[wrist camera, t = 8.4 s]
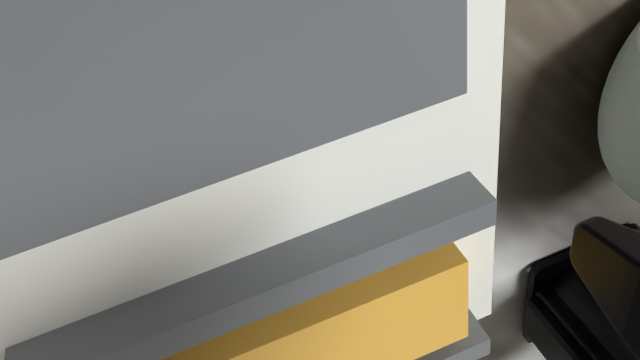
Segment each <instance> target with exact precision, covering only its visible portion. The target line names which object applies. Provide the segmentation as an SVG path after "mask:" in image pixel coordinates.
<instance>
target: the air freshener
mask: <svg viewBox="0 0 640 360" xmlns="http://www.w3.org/2000/svg"><path fill="white" fill-rule="evenodd" d="M598 140H599V146H600V151H601V156H602V159H603V161H604V163H605V165H606V167H607V169H608V171H609V173H610V175H611V177H612V178H613V180H614V181H615V182H616V183H617V184H618V185H619V186H620V187H621V188H622V190H623V191H624V192H625V193H626V194H628V195H629V196H630V197H631V198H633V199H635V200H636V201H638V202H640V21H639V23H638V24H637V25H636V27H635V28H634V30H633V31H632V32H631V34H630V35H629V36H628V38H627V40H626V41H625V43H624V45H623V46H622V48H621V49H620V51H619V53H618V55H617V57H616V59H615V61H614V63H613V65H612V67H611V69H610V71H609V74H608V77H607V80H606V83H605V86H604V89H603V92H602V96H601V101H600V106H599V112H598Z"/></svg>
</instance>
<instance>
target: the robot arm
mask: <svg viewBox="0 0 640 360" xmlns="http://www.w3.org/2000/svg"><path fill="white" fill-rule="evenodd" d="M523 337H524V338H525V340H526V341H527V342H529V343H530V342H533V343H534V344H535V346H536V347H537V348H538V349H539V351H540V352H541V353H542V355H543V356H544V357H545V358H546V360H640V227H639V226H638V225H637V224H634V223H633V224H630V225H627V226H624V225H621V224H619V223H616V222H613V221H611V220H608V219H606V218H603V217H592V218H589V219H587V220H584V221H582V222H579V223H577V224H576V226H575V228H574V232H573V238H572V244H571V249H570V250H568V251H565V252H563V253H561V254H558V255H556V256H553V257H551V258H549V259H546V260H544V261H541V262H539V263H537V264H535V265H534V266H533V267H532V268H531V270H530V272H529V280H528V289H527V298H526V307H525V316H524V326H523Z"/></svg>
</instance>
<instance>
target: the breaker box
mask: <svg viewBox="0 0 640 360" xmlns="http://www.w3.org/2000/svg"><path fill="white" fill-rule="evenodd" d="M504 22H505V0H0V360H160V359H163V358H165V357H168V356H170V355H173V354H175V353H178V352H180V351H183V350H185V349H188V348H190V347H193V346H195V345H198V344H200V343H203V342H205V341H208V340H210V339H213V338H215V337H218V336H220V335H223V334H225V333H228V332H230V331H233V330H235V329H238V328H240V327H243V326H245V325H248V324H250V323H253V322H255V321H258V320H260V319H262V318H265V317H267V316H270V315H272V314H275V313H277V312H280V311H282V310H285V309H287V308H290V307H292V306H295V305H297V304H300V303H302V302H305V301H307V300H310V299H312V298H315V297H317V296H320V295H322V294H325V293H327V292H330V291H332V290H335V289H337V288H340V287H342V286H345V285H347V284H350V283H352V282H355V281H357V280H360V279H362V278H364V277H367V276H369V275H372V274H374V273H377V272H379V271H382V270H384V269H387V268H389V267H392V266H394V265H397V264H399V263H402V262H404V261H407V260H409V259H412V258H414V257H417V256H419V255H422V254H424V253H427V252H429V251H432V250H434V249H437V248H439V247H442V246H444V245H447V244H449V243H452V242H454V244H455V245H456V246H457V248H458V249H459V250H460V251H461V253H462V254H463V255H464V256H465V258H466V259H467V260H468V337H466V338H463V339H461V340H459V341H456V342H454V343H452V344H449V345H447V346H445V347H442V348H440V349H438V350H436V351H433V352H431V353H429V354H426V355H424V356H422V357H419V358H417V359H415V360H478V359H480V358H482V357H484V356H487V355H489V354H490V345H491V339H490V337H489V336H488V334H487V333H486V332H485V330H484V329H483V327H482V326H481V325H480V323H479V322H478V320H479V319H481V318H483V317H486V316H488V315H490V314H491V306H492V284H493V263H494V241H495V225H496V218H497V199H496V197H497V175H498V153H499V131H500V109H501V88H502V66H503V44H504Z"/></svg>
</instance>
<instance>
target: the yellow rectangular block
mask: <svg viewBox="0 0 640 360" xmlns="http://www.w3.org/2000/svg"><path fill="white" fill-rule="evenodd" d="M466 337H468V260H467V259H466V258H465V256H464V255H463V254H462V253H461V251H460V250H459V249H458V248H457V246H456V245H455V244H454V242H452V243H449V244H447V245H444V246H442V247H439V248H437V249H434V250H432V251H429V252H427V253H424V254H422V255H419V256H417V257H414V258H412V259H409V260H407V261H404V262H402V263H399V264H397V265H394V266H392V267H389V268H387V269H384V270H382V271H379V272H377V273H374V274H372V275H369V276H367V277H364V278H362V279H360V280H357V281H355V282H352V283H350V284H347V285H345V286H342V287H340V288H337V289H335V290H332V291H330V292H327V293H325V294H322V295H320V296H317V297H315V298H312V299H310V300H307V301H305V302H302V303H300V304H297V305H295V306H292V307H290V308H287V309H285V310H282V311H280V312H277V313H275V314H272V315H270V316H267V317H265V318H262V319H260V320H258V321H255V322H253V323H250V324H248V325H245V326H243V327H240V328H238V329H235V330H233V331H230V332H228V333H225V334H223V335H220V336H218V337H215V338H213V339H210V340H208V341H205V342H203V343H200V344H198V345H195V346H193V347H190V348H188V349H185V350H183V351H180V352H178V353H175V354H173V355H170V356H168V357H165V358H163V359H160V360H415V359H417V358H419V357H422V356H424V355H426V354H429V353H431V352H433V351H436V350H438V349H440V348H442V347H445V346H447V345H449V344H452V343H454V342H456V341H459V340H461V339H463V338H466Z"/></svg>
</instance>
